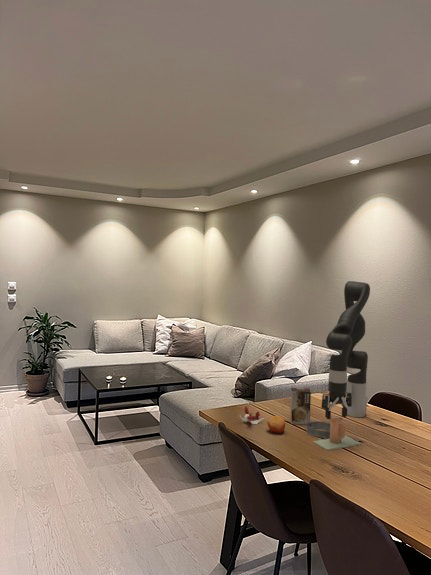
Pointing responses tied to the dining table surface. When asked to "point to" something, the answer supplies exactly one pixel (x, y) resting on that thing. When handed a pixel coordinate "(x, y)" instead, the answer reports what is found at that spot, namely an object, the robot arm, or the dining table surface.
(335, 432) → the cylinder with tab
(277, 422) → the fruit
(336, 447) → the mat
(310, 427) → the holder
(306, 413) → the coffee box
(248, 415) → the figurine
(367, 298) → the robot arm
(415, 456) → the dining table surface
